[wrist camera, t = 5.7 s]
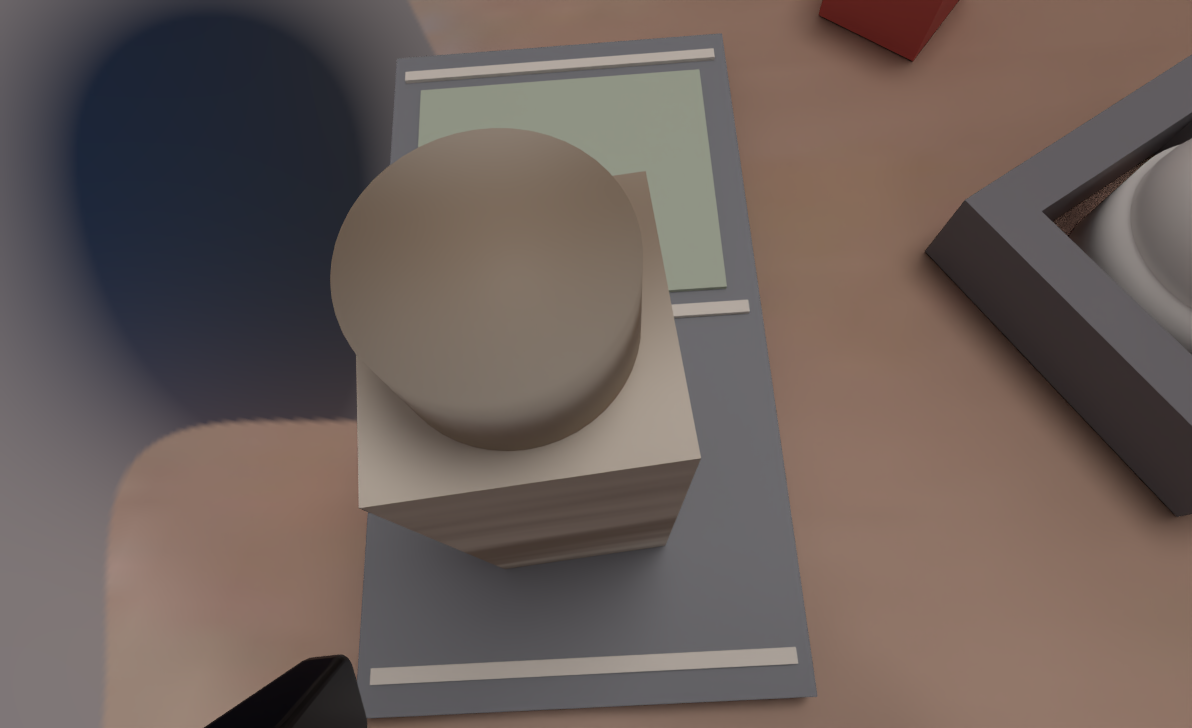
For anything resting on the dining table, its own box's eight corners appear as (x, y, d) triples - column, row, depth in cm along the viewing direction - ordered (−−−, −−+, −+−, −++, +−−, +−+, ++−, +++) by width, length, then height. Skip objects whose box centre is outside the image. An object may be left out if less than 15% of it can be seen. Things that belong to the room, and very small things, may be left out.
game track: (808, 692, 19) (818, 697, 18) (368, 714, 19) (352, 719, 18) (718, 54, 27) (722, 30, 25) (405, 78, 27) (395, 55, 26)
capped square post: (665, 545, 19) (718, 415, 7) (504, 569, 19) (288, 479, 7) (639, 392, 21) (648, 74, 9) (491, 414, 21) (293, 127, 9)
